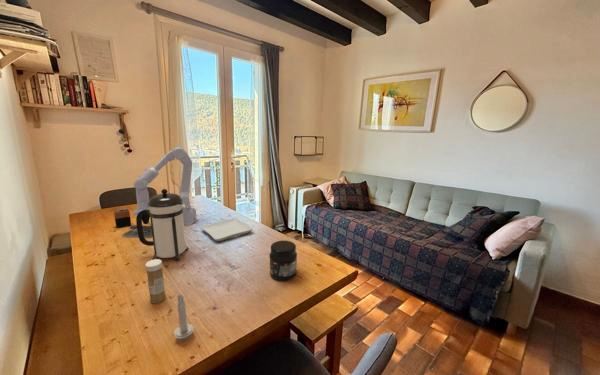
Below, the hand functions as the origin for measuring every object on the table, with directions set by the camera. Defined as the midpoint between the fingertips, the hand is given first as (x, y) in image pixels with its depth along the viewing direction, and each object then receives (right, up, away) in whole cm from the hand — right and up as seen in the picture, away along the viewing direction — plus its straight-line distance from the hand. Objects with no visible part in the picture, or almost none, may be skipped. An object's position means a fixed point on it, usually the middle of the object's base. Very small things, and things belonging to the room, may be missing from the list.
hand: (146, 223), depth 138 cm
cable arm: (+3, -3, -6) cm, 7 cm away
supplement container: (+79, -14, -41) cm, 90 cm away
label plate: (+3, -4, -5) cm, 7 cm away
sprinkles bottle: (+39, -17, -57) cm, 71 cm away
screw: (+54, -20, -71) cm, 92 cm away
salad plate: (+46, -5, -3) cm, 46 cm away
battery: (-14, -2, +2) cm, 14 cm away
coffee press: (+27, -10, -29) cm, 41 cm away
